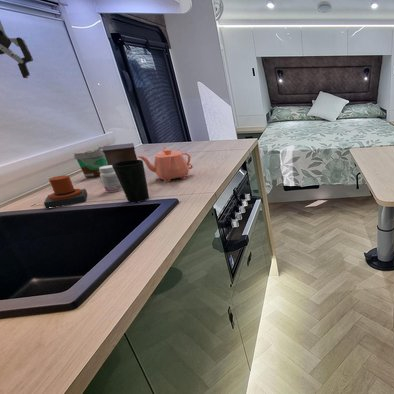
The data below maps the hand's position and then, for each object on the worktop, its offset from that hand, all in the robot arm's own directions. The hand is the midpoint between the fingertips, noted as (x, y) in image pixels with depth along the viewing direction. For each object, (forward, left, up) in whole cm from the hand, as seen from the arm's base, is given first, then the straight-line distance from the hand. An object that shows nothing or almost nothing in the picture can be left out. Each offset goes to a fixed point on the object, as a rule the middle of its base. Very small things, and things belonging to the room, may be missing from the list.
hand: (4, 78), depth 81 cm
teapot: (+33, -2, -36) cm, 49 cm away
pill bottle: (+16, -5, -36) cm, 40 cm away
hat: (+4, -8, -34) cm, 35 cm away
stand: (+4, -8, -36) cm, 37 cm away
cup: (+22, -20, -36) cm, 47 cm away
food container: (+12, +21, -36) cm, 44 cm away
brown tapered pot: (+20, +11, -36) cm, 43 cm away
